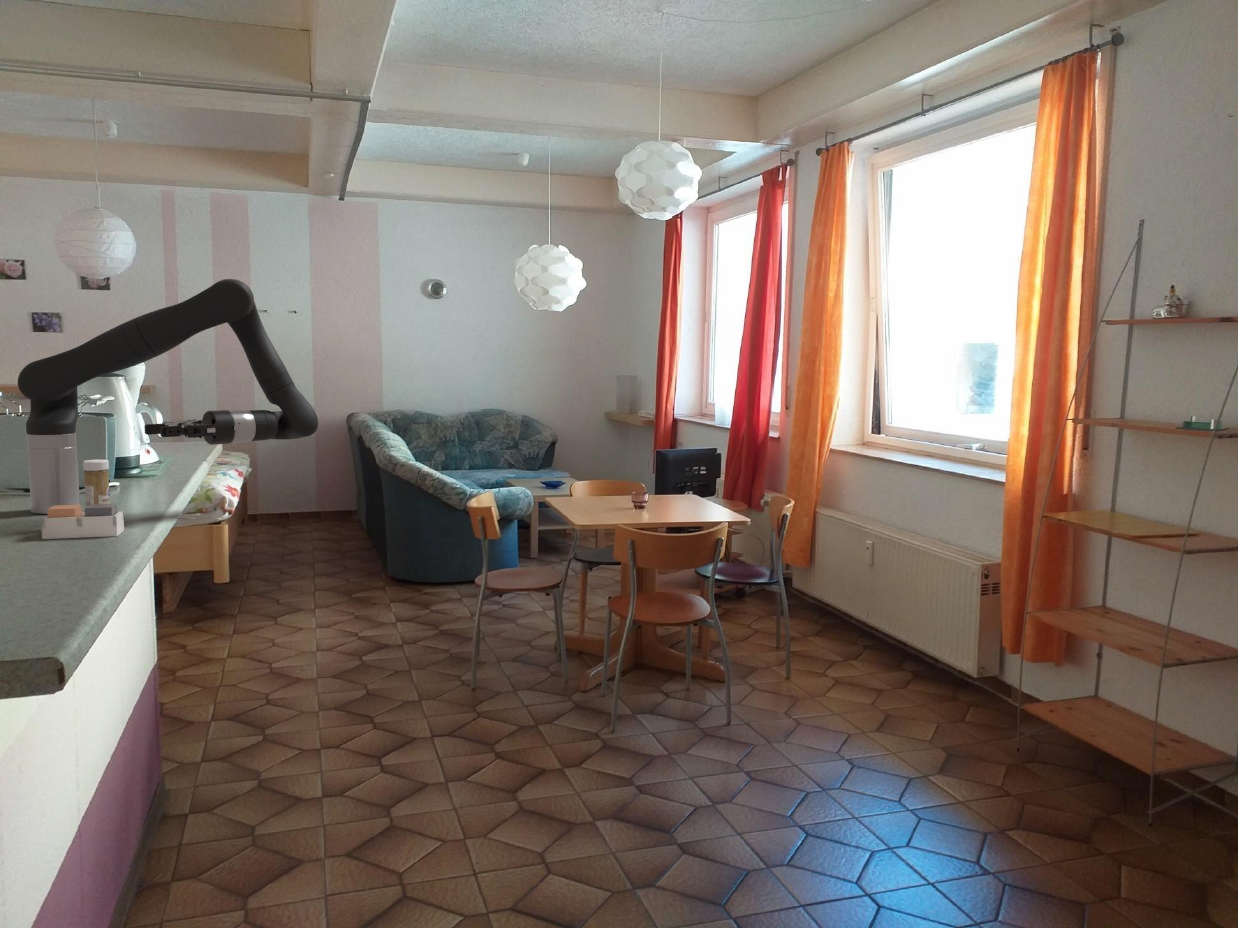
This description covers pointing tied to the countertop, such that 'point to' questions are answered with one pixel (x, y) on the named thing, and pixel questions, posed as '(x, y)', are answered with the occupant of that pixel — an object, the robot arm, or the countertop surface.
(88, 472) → the sprinkles bottle
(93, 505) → the key charcoal
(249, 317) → the robot arm
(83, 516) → the keypad
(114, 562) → the countertop surface
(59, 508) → the key terracotta
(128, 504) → the countertop surface
